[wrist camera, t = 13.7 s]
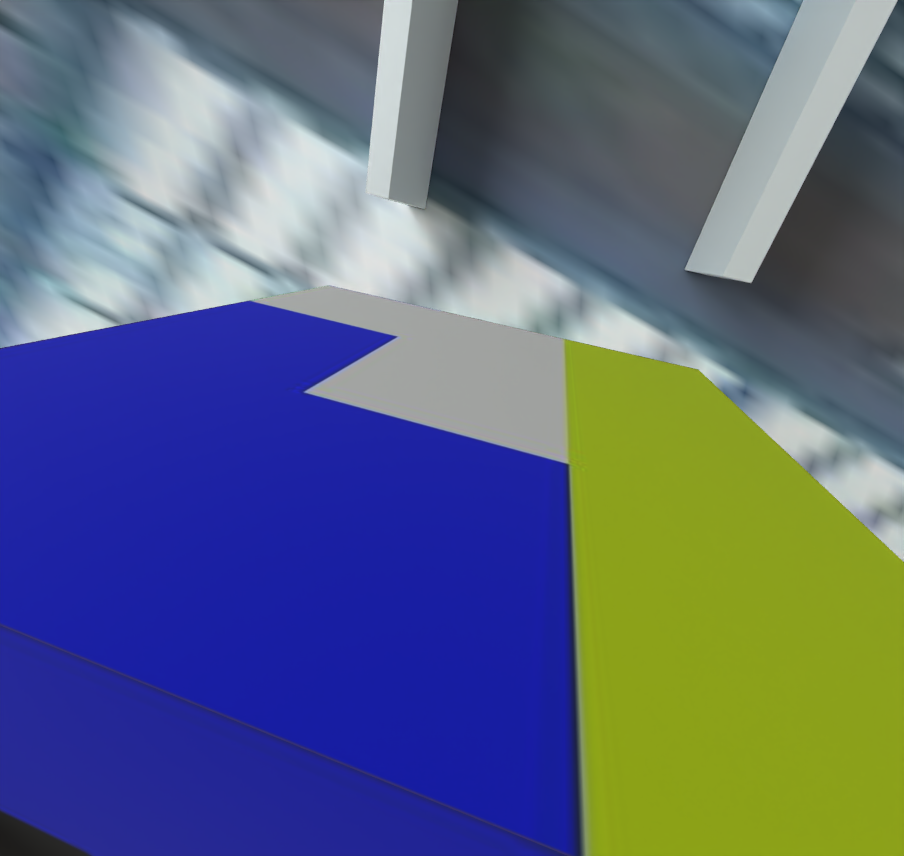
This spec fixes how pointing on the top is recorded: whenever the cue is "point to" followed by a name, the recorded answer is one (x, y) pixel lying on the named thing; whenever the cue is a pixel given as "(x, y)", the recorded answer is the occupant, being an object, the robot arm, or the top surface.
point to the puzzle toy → (425, 600)
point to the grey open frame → (754, 165)
